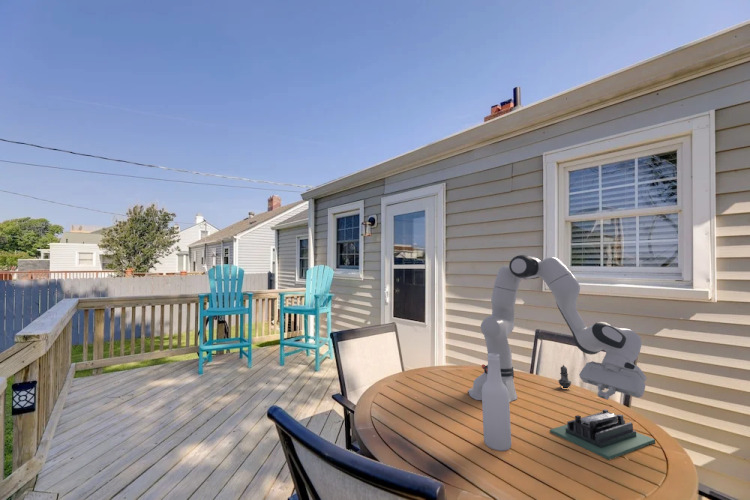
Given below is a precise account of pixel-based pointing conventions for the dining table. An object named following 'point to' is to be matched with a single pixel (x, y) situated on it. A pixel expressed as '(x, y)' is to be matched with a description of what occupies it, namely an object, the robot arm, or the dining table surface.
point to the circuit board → (607, 451)
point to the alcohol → (496, 408)
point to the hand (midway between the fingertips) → (602, 397)
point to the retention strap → (599, 418)
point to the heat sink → (601, 430)
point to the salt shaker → (564, 378)
